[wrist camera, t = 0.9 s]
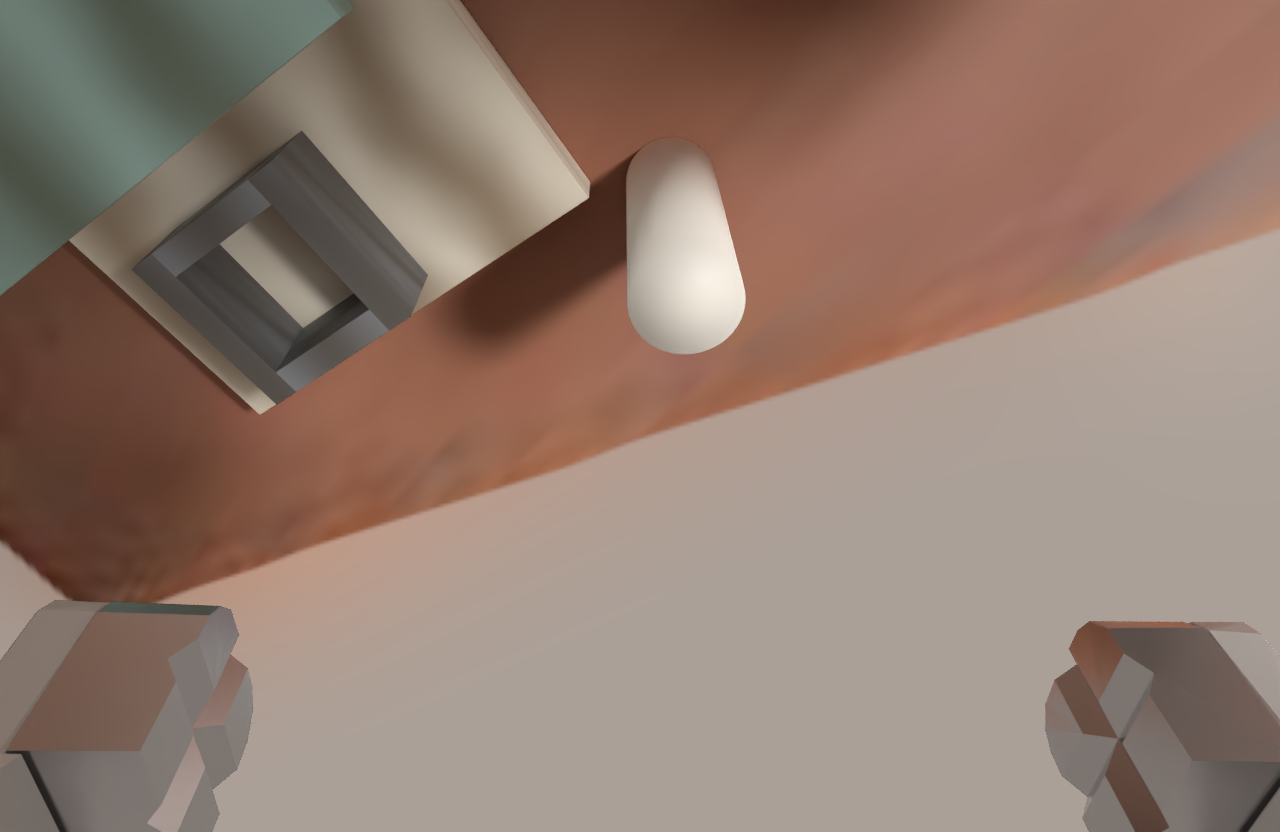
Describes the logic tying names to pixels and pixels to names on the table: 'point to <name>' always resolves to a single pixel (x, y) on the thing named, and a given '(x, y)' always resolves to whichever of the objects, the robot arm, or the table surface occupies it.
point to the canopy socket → (269, 166)
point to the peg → (679, 250)
